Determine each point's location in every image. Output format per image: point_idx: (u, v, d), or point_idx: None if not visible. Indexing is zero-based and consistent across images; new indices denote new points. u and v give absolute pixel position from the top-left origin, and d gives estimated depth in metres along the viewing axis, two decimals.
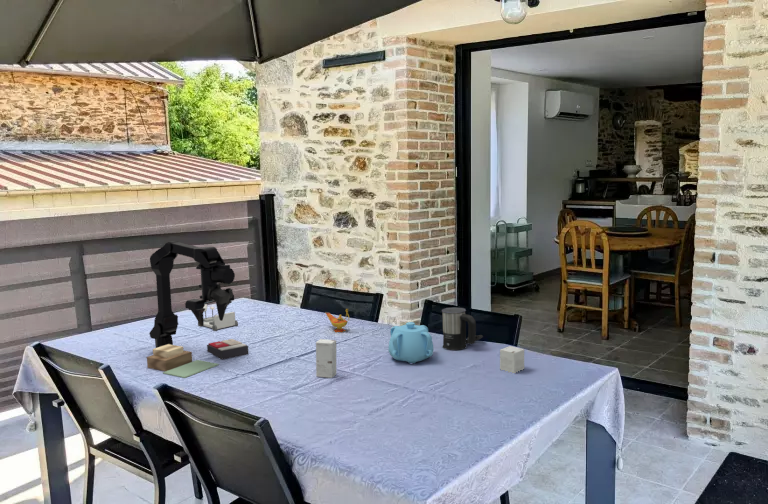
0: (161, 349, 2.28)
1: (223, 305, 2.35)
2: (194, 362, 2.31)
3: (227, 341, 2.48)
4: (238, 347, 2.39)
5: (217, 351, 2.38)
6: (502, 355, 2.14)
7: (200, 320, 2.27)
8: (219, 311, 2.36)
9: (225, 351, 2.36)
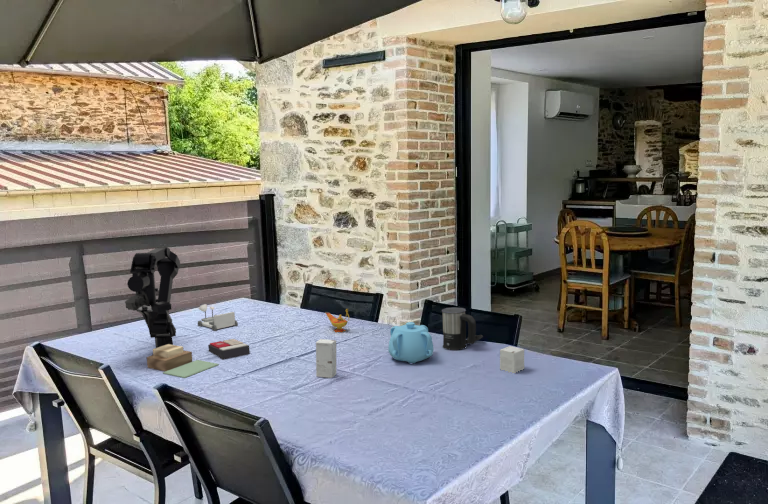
0: (161, 349, 2.28)
1: None
2: (194, 362, 2.31)
3: (228, 341, 2.48)
4: (239, 347, 2.39)
5: (218, 351, 2.38)
6: (502, 355, 2.14)
7: None
8: None
9: (226, 351, 2.36)
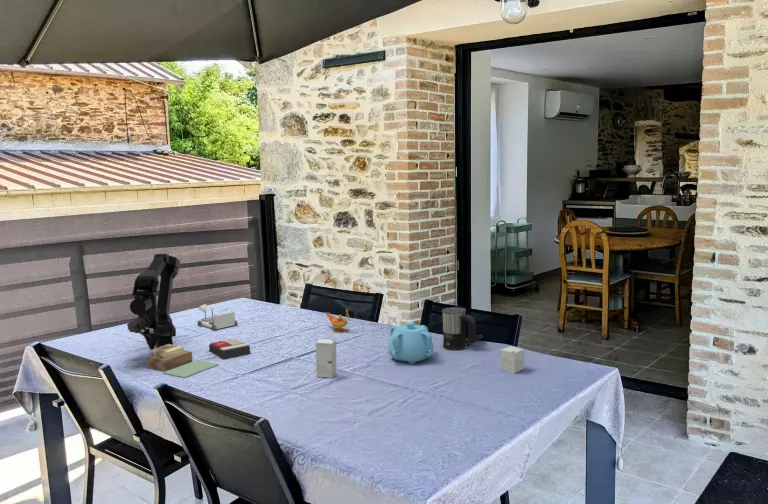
0: (161, 349, 2.28)
1: None
2: (194, 362, 2.31)
3: (229, 341, 2.48)
4: (240, 347, 2.39)
5: (219, 351, 2.38)
6: (502, 355, 2.14)
7: None
8: None
9: (227, 351, 2.36)
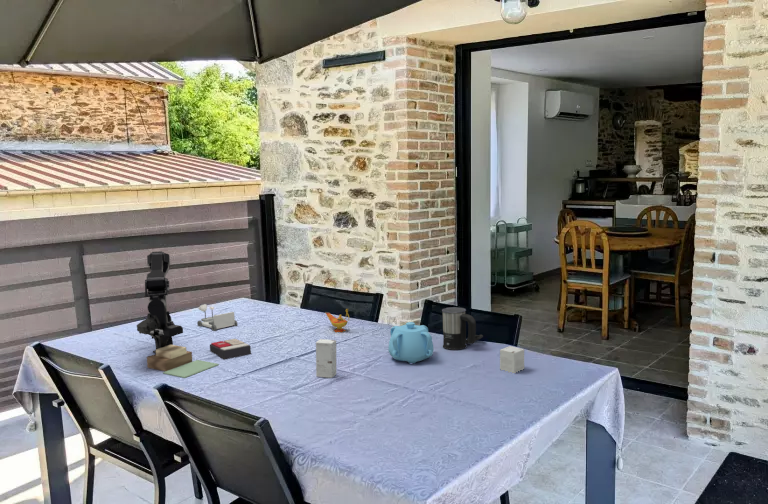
0: (164, 350, 2.27)
1: None
2: (194, 362, 2.31)
3: (230, 341, 2.48)
4: (240, 347, 2.39)
5: (219, 351, 2.38)
6: (502, 355, 2.14)
7: None
8: None
9: (227, 351, 2.36)
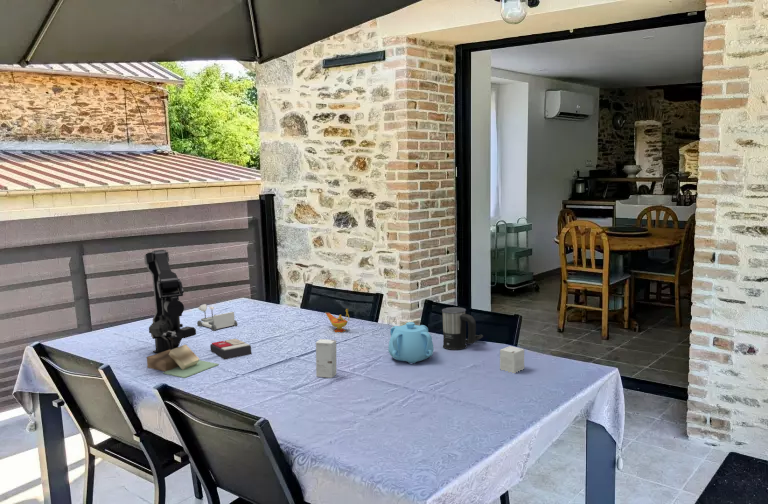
0: (179, 355, 2.24)
1: None
2: None
3: (230, 341, 2.48)
4: (241, 347, 2.39)
5: (220, 351, 2.38)
6: (502, 355, 2.14)
7: None
8: None
9: (228, 351, 2.36)
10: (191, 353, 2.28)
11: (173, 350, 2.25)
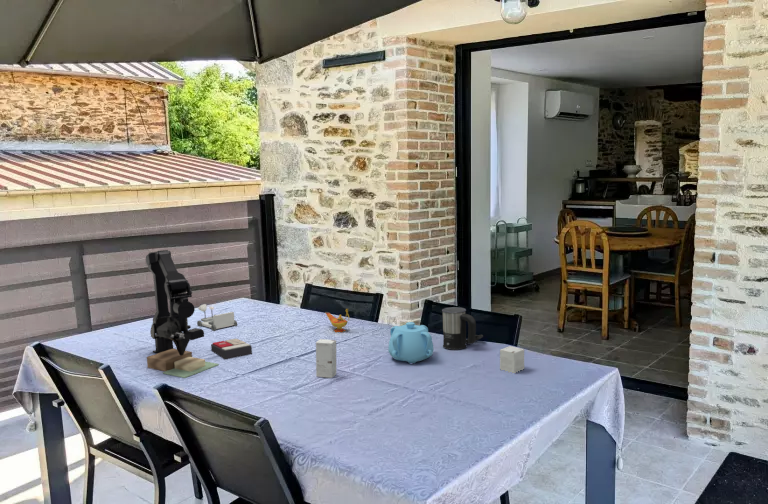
0: (183, 362, 2.24)
1: None
2: None
3: (231, 341, 2.48)
4: (241, 347, 2.39)
5: (221, 351, 2.38)
6: (502, 355, 2.14)
7: None
8: None
9: (228, 351, 2.36)
10: (195, 358, 2.28)
11: (176, 361, 2.25)
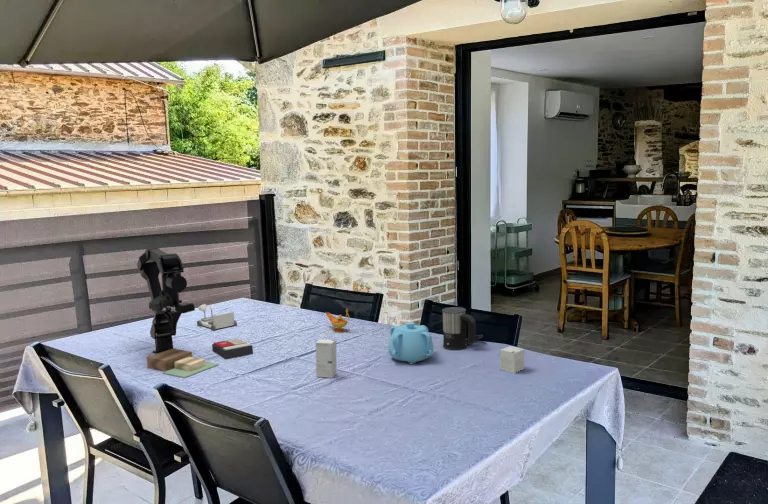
0: (183, 362, 2.24)
1: None
2: None
3: (232, 341, 2.49)
4: (242, 347, 2.39)
5: (221, 351, 2.38)
6: (502, 355, 2.14)
7: None
8: None
9: (229, 351, 2.36)
10: (195, 358, 2.28)
11: (176, 361, 2.25)
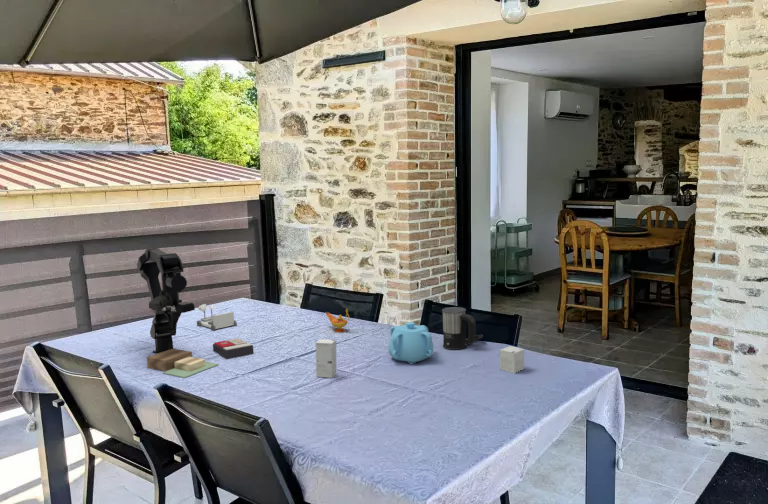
0: (183, 362, 2.24)
1: None
2: None
3: (233, 340, 2.49)
4: (243, 347, 2.40)
5: (222, 350, 2.38)
6: (502, 355, 2.14)
7: None
8: None
9: (230, 351, 2.36)
10: (195, 358, 2.28)
11: (176, 361, 2.25)
